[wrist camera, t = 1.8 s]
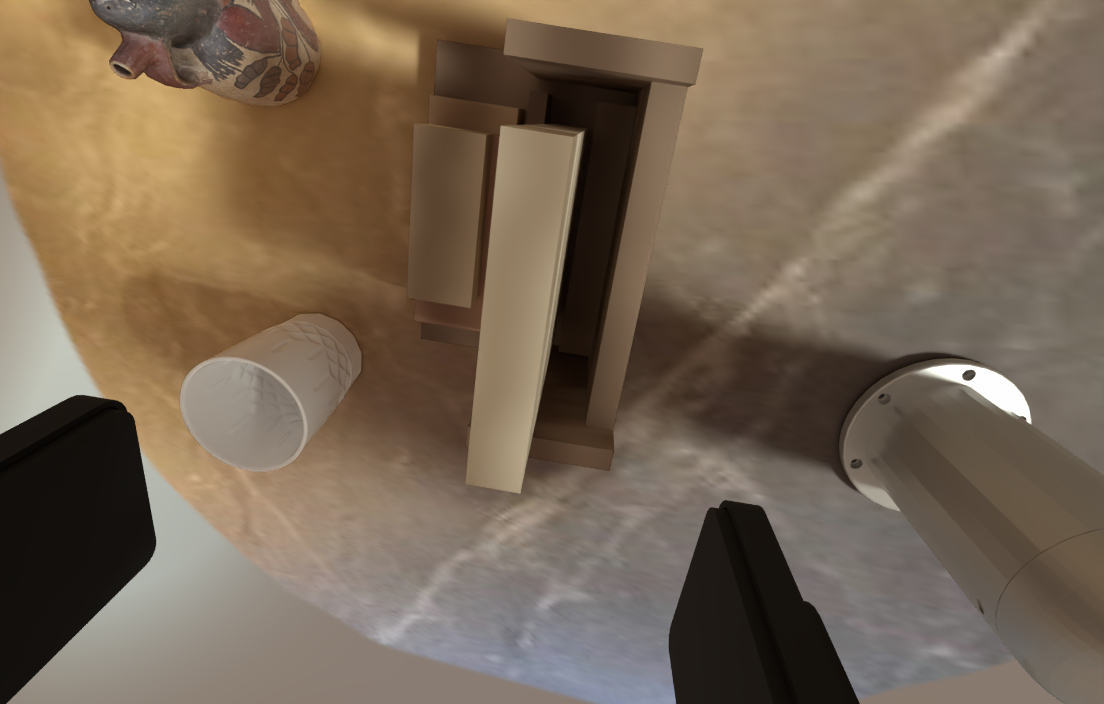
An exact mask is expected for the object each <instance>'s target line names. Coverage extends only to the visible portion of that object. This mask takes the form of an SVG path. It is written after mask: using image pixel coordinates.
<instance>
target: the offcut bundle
mask: <svg viewBox="0 0 1104 704" xmlns="http://www.w3.org/2000/svg"><path fill="white" fill-rule="evenodd" d="M524 116H525V110H524V109H518V108H512V107H506V106H499V105H493V104H487V103H480V102H474V101H467V100H461V99H455V98H448V97H442V96H435V95H430V97H429V116H428V124H427V123H414V134H413V158H412V182H411V206H410V230H409V254H408V278H407V298H412V299H415V318H414V321H419V322H425V323H431V324H437V325H443V326H449V327H455V328H461V329H467V330H473V331H480V330H481V319H482V309H483V299H484V289H485V279H486V269H487V259H488V249H489V239H490V229H491V219H492V209H493V199H494V189H495V179H496V169H497V158H498V148H499V138H500V128H501V126H503V125H523V124H524Z"/></svg>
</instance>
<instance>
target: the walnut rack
mask: <svg viewBox="0 0 1104 704" xmlns="http://www.w3.org/2000/svg"><path fill="white" fill-rule="evenodd" d="M702 53H703V48H696V47H690V46H683V45H677V44H670V43H664V42H657V41H651V40H644V39H638V38H631V37H625V36H618V35H612V34H605V33H599V32H592V31H586V30H579V29H573V28H566V27H560V26H553V25H547V24H540V23H534V22H527V21H521V20H514V19H508V18H507V24H506V34H505V45H504V50H502V49H495V48H489V47H482V46H476V45H469V44H463V43H456V42H450V41H443V40H437V54H436V73H435V91H434V95H435V96H442V97H448V98H455V99H461V100H467V101H474V102H480V103H487V104H493V105H499V106H506V107H512V108H518V109H524V110H525V116H524V124H523V125H531V124H561V125H567V126H574V127H580V128H586V129H588V132H587V138H586V144H585V151H584V157H583V163H582V170H581V176H580V182H579V189H578V195H577V202H576V208H575V214H574V221H573V227H572V233H571V240H570V246H569V252H568V259H567V265H566V271H565V278H564V284H563V291H562V297H561V303H560V310H559V315H558V320H557V325H556V329H555V334H554V339H553V343H552V348H551V353H550V357H549V362H548V367H547V371H546V376H545V381H544V385H543V390H542V394H541V399H540V404H539V408H538V413H537V418H536V422H535V427H534V432H533V436H532V441H531V446H530V450H529V455H528V457H530V458H536V459H542V460H547V461H553V462H559V463H565V464H571V465H577V466H583V467H589V468H595V469H601V470H607V471H610V467H611V462H612V458H613V453H614V439H613V429H614V424H615V420H616V415H617V410H618V406H619V401H620V397H621V392H622V387H623V383H624V378H625V374H626V369H627V364H628V360H629V355H630V351H631V346H632V341H633V337H634V332H635V328H636V323H637V318H638V314H639V309H640V305H641V300H642V295H643V291H644V286H645V282H646V277H647V272H648V268H649V263H650V259H651V254H652V250H653V245H654V240H655V236H656V231H657V227H658V222H659V217H660V213H661V208H662V204H663V199H664V194H665V190H666V185H667V181H668V176H669V171H670V167H671V162H672V158H673V153H674V148H675V144H676V139H677V135H678V130H679V125H680V121H681V116H682V112H683V107H684V102H685V98H686V93H687V89H688V87H690V86H692V85H695V84H696V80H697V75H698V71H699V66H700V62H701V57H702ZM421 339H427V340H433V341H439V342H445V343H451V344H457V345H463V346H469V347H475V348H479V340H480V331H473V330H467V329H461V328H455V327H449V326H443V325H437V324H431V323H425V322H422V331H421ZM471 420H472V418H471ZM471 420H470V422H469V424H468V427H467V438H466V447H469V440H470V430H471Z"/></svg>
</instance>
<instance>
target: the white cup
mask: <svg viewBox="0 0 1104 704" xmlns="http://www.w3.org/2000/svg"><path fill="white" fill-rule="evenodd" d="M361 359H362V353H361V351H360V349H359V346H358V344H357V342H356V339H355V337H354V335H353V334H352V333H351V332H350V331H349V330H348V329H346V328H345V327H344V326H343V325H342V324H341V323H340V322H339V321H337V320H335V319H332V318H330V317H328V316H325V315H323V314H320V313H313V314H299V315H297V316H295V317H293V318H291V319H290V320H288V321H286V322H284V323H281V324H279V325H276V326H272V327H270V328H268V329H266V330H264V331H261V332H259V333H257V334H256V335H254V336H251V337H249V338H247V339H245V340H243V341H241V342H240V343H238V344H236V345H234V346H232V347H230V348H228V349H226V350H224V351H223V352H221V353H219V354H217V355H215V356H213V357H211V358H209V359H207V360H205V361H203V362H201V363H200V364H198V365H197V366H195V367H194V368H193V369H192V370H191V371H190V372H189V373H188V374H187V376H186V377H185V379H184V381H183V383H182V386H181V390H180V409H181V413H182V416H183V419H184V422H185V424H186V426H187V428H188V430H189V431H190V433H191V434H192V436H193V437H194V438H195V440H196V441H197V442H198V443H199V444H200V445H201V446H202V447H203V448H204V449H205V450H206V451H207V452H209V453H210V454H211V455H213V456H214V457H215V458H217V459H219V460H220V461H222V462H224V463H226V464H228V465H231V466H233V467H236V468H239V469H243V470H248V471H256V472H264V471H272V470H276V469H279V468H282V467H284V466H286V465H288V464H289V463H291V462H292V461H293V460H295V459H296V458H297V457H298V455H299V454H300V453H301V452H302V450H303V449H304V448H305V447H306V445H307V444H308V443H309V442H310V440H311V439H312V438H313V437H314V435H315V434H316V433H317V432H318V431H319V429H320V428H321V427H322V426H323V424H324V423H325V422H326V421H327V420H328V418H329V417H330V415H331V414H332V413H333V411H334V410H335V409H336V407H337V406H338V405H339V403H340V402H341V401H342V399H343V398H344V397H345V395H346V392H347V391H348V390H349V389H350V387H351V386H352V385H353V383H354V382H355V380H356V378H357V377H358V375H359V374H360V372H361Z"/></svg>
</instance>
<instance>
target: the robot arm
mask: <svg viewBox="0 0 1104 704" xmlns="http://www.w3.org/2000/svg"><path fill="white" fill-rule="evenodd" d="M1031 422H1032V420H1031V414H1030V408H1029V405H1028V403H1027V401H1026V399H1025V397H1024V394H1023V393H1022V392H1021V391H1020V389H1019V388H1018V387H1017V386H1016V385H1015V384H1014V382H1012V381H1011V380H1009V379H1008V378H1007V377H1005V376H1004V375H1002V374H1001V373H999V372H998V371H996V370H994V369H992V368H990V367H989V366H987V365H984V364H981V363H978V362H974V361H971V360H964V359H956V358H946V359H932V360H928V361H923V362H918V363H914V364H912V365H909V366H906V367H904V368H901V369H898V370H896V371H895V372H893V373H891V374H889V375H887V376H886V377H884V378H882V379H881V380H879V381H878V382H877V383H875V384H874V385H873V386H872V387H870V388H869V389H868V390H867V391H866V392H865V393H864V394H863V395H862V396H861V397H860V398H859V399H858V400H857V401H856V403H855V404H854V406H853V407H852V409H851V410H850V412H849V413H848V415H847V417H846V419H845V422H844V424H843V427H842V429H841V434H840V440H839V454H840V459H841V463H842V466H843V469H844V471H845V472H846V474H847V476H848V477H849V479H850V480H851V482H852V483H853V484H854V486H855V487H856V488H857V489H858V491H859V492H860V493H862V494H863V495H864V496H865V497H867V498H868V499H869V500H871V501H873V502H875V503H877V504H878V505H880V506H882V507H886V508H889V509H892V510H896V511H901V512H902V513H903V514H904V516H905V517H906V518H907V520H908V521H909V522H910V524H911V525H912V526H913V527H914V529H915V530H916V531H917V533H918V534H919V535H920V536H921V538H922V539H923V540H924V542H925V543H926V544H927V546H928V547H929V548H930V549H931V551H932V552H933V553H934V555H935V556H936V557H937V558H938V560H939V561H940V562H941V564H942V565H943V566H944V568H945V569H946V570H947V571H948V573H949V574H950V575H951V577H952V578H953V579H954V580H955V582H956V583H957V584H958V586H959V587H960V588H961V590H962V591H963V592H964V593H965V595H966V596H967V597H968V599H969V600H970V601H971V602H972V604H973V605H974V606H975V608H976V609H977V610H978V612H979V613H980V614H981V615H982V617H983V618H984V619H985V621H986V622H987V623H988V624H989V626H990V627H991V628H992V630H993V631H994V632H995V633H996V635H997V636H998V637H999V639H1000V640H1001V641H1002V643H1003V644H1004V645H1005V646H1006V647H1007V649H1008V650H1009V651H1010V652H1011V654H1012V655H1013V656H1014V658H1015V659H1016V660H1017V661H1018V662H1019V664H1020V665H1021V666H1022V668H1023V669H1024V670H1025V671H1026V672H1027V673H1028V674H1029V675H1030V677H1031V678H1032V679H1033V680H1034V681H1036V682H1037V683H1038V684H1039V685H1040V686H1041V687H1042V688H1043V689H1044V690H1046V691H1047V692H1048V693H1049V694H1051V695H1052V696H1053V697H1055V698H1056V699H1058V700H1059V701H1060V702H1062V703H1063V704H1104V475H1103V474H1101V473H1100V472H1098V471H1097V470H1096V469H1094V468H1093V467H1091V466H1090V465H1088V464H1087V463H1086V462H1084V461H1083V460H1081V459H1080V458H1078V457H1077V456H1076V455H1074V454H1073V453H1071V452H1070V451H1068V450H1067V449H1066V448H1064V447H1063V446H1061V445H1060V444H1058V443H1057V442H1056V441H1054V440H1053V439H1051V438H1050V437H1048V436H1047V435H1046V434H1044V433H1043V432H1041V431H1040V430H1038V429H1037V428H1036V427H1034V426H1033V425H1031ZM155 547H156V536H155V531H154V525H153V520H152V514H151V509H150V503H149V498H148V492H147V487H146V481H145V475H144V470H143V464H142V459H141V453H140V448H139V442H138V436H137V431H136V425H135V420H134V418H133V416H132V415H131V414H130V413H129V412H127V409H126V407H125V406H124V405H123V404H122V403H121V402H119V401H116V400H110V399H104V398H98V397H92V396H86V395H76V396H73V397H71V398H68V399H66V400H64V401H62V402H60V403H59V404H57V405H55V406H53V407H51V408H49V409H47V410H45V411H44V412H42V413H40V414H38V415H36V416H34V417H32V418H30V419H28V420H27V421H25V422H23V423H21V424H19V425H17V426H15V427H13V428H11V429H10V430H8V431H6V432H4V433H2V434H0V704H6V703H7V702H8V701H9V700H10V699H11V698H12V697H13V696H14V695H16V694H17V692H18V691H20V690H21V689H22V687H24V686H25V685H26V684H27V683H28V682H29V681H30V680H31V679H32V678H33V677H34V676H35V675H36V674H37V673H38V672H39V671H40V670H41V669H42V668H43V667H44V666H45V665H46V664H47V663H48V662H49V661H50V660H51V659H52V658H53V657H54V656H55V655H56V654H57V653H58V652H59V651H60V650H61V649H62V648H63V647H64V646H65V645H66V644H67V643H68V642H69V641H70V640H71V639H72V638H73V637H74V636H75V635H76V634H77V633H78V632H79V631H80V630H81V629H82V628H83V627H84V626H85V625H86V624H87V623H88V622H89V621H90V620H91V619H92V618H93V617H94V616H95V615H96V614H97V613H98V612H99V611H100V610H101V609H102V608H103V607H104V606H105V605H106V604H107V603H108V602H109V601H110V600H111V599H112V598H113V597H114V596H115V595H116V594H117V593H118V592H119V591H120V590H121V589H122V588H123V587H124V586H125V585H126V584H127V583H128V582H129V581H130V580H131V579H132V578H133V577H134V576H135V575H136V574H137V573H138V572H139V571H140V570H142V569H143V567H145V565H146V564H147V563H148V562H149V561H150V559H151V557H152V556H153V553H154V551H155ZM669 655H670V662H671V669H672V676H673V683H674V691H675V698H676V704H860V703H859V701H858V699H857V697H856V695H855V692H854V690H853V688H852V686H851V683H850V681H849V679H848V677H847V675H846V672H845V670H844V668H843V666H842V664H841V661H840V659H839V657H838V655H837V652H836V650H835V648H834V646H833V644H832V641H831V639H830V637H829V635H828V633H827V630H826V628H825V626H824V624H823V622H822V619H821V617H820V615H819V614H818V612H817V610H816V609H815V607H814V606H813V605H811V604H810V603H809V602H806V601H803V599H802V597H801V594H800V592H799V590H798V587H797V585H796V583H795V580H794V578H793V576H792V573H791V571H790V569H789V566H788V564H787V562H786V559H785V557H784V555H783V553H782V550H781V548H780V546H779V543H778V541H777V539H776V536H775V534H774V532H773V529H772V527H771V525H770V522H769V520H768V518H767V515H766V513H765V511H764V510H763V508H762V507H761V506H758V505H752V504H746V503H740V502H734V501H727V500H725V501H723V502H722V503H721V504H720V506H719V508H713V507H711V508H709V510H708V511H707V514H706V517H705V520H704V523H703V526H702V529H701V532H700V536H699V539H698V542H697V545H696V548H695V551H694V554H693V558H692V561H691V564H690V567H689V570H688V573H687V576H686V580H685V583H684V586H683V589H682V592H681V595H680V598H679V602H678V605H677V608H676V611H675V614H674V617H673V620H672V624H671V627H670V633H669Z"/></svg>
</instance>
